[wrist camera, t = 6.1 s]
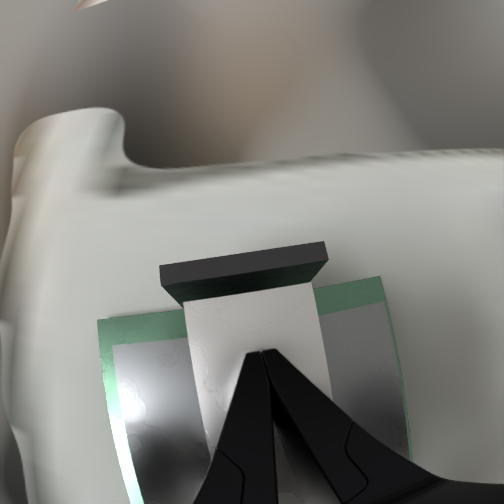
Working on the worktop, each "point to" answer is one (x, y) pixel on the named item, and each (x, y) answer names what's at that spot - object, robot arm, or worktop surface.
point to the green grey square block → (182, 375)
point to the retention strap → (248, 340)
